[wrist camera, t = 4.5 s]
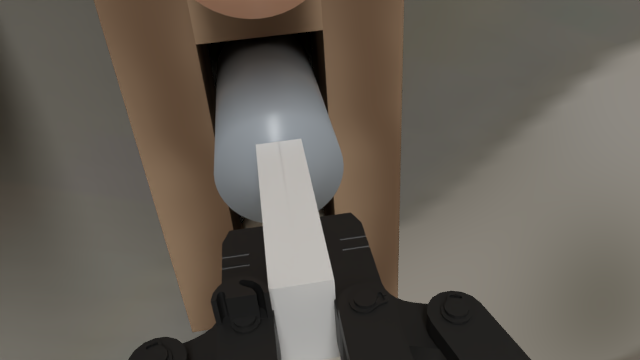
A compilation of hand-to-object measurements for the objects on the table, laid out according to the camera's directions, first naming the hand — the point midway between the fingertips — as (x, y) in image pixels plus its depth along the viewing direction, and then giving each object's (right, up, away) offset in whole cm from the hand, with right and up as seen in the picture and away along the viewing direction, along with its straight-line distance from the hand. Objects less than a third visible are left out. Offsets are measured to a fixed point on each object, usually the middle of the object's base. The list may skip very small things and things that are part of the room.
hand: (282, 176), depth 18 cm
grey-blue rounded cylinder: (-1, +5, +8) cm, 9 cm away
